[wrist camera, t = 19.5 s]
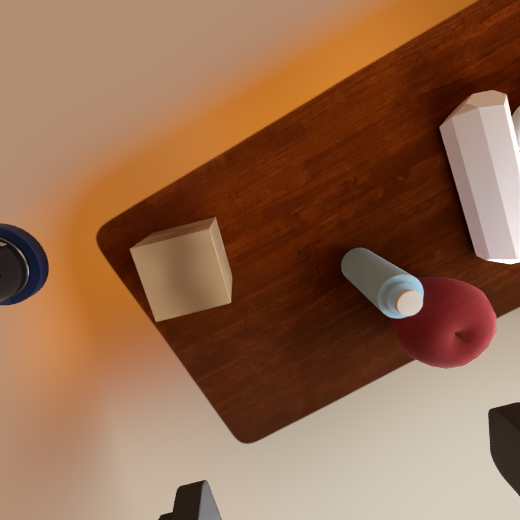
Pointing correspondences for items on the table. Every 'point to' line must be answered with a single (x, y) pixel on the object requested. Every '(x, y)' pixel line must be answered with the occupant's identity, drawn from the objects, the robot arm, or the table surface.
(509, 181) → the crystal
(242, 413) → the table surface
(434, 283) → the apple
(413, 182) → the table surface
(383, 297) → the bottle
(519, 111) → the cylindrical container
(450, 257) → the table surface
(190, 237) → the cube
